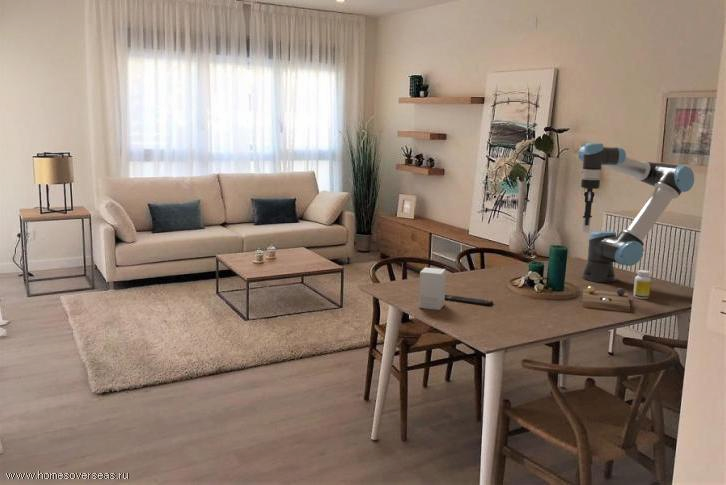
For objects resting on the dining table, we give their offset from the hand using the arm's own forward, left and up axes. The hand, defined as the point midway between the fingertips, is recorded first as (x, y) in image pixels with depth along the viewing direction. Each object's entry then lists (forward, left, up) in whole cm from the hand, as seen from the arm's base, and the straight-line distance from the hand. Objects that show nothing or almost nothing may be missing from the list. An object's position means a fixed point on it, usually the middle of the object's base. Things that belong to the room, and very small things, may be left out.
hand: (585, 232), depth 283 cm
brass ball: (+14, +4, -22) cm, 27 cm away
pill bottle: (+2, +25, -27) cm, 37 cm away
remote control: (+38, -46, -27) cm, 66 cm away
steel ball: (+21, +10, -25) cm, 34 cm away
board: (+17, +10, -26) cm, 33 cm away
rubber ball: (+12, +16, -22) cm, 30 cm away
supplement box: (+50, -57, -27) cm, 80 cm away
